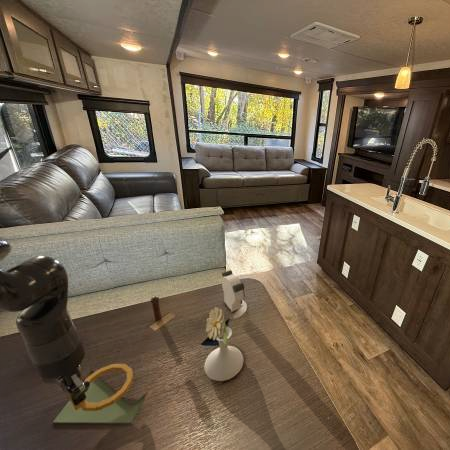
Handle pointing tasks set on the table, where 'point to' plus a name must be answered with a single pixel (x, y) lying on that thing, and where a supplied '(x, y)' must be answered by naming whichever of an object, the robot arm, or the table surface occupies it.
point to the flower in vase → (221, 350)
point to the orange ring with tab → (115, 397)
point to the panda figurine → (233, 293)
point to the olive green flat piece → (110, 414)
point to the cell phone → (210, 341)
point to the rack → (159, 315)
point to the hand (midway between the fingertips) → (78, 399)
